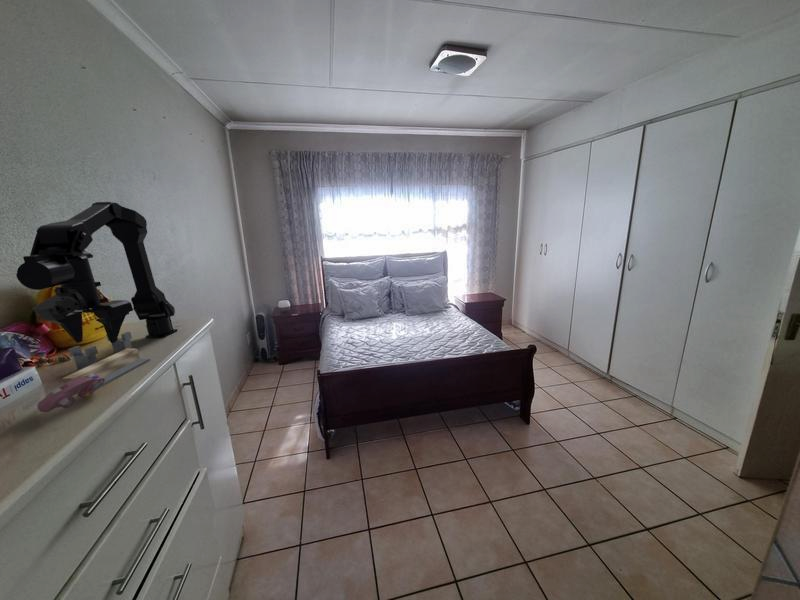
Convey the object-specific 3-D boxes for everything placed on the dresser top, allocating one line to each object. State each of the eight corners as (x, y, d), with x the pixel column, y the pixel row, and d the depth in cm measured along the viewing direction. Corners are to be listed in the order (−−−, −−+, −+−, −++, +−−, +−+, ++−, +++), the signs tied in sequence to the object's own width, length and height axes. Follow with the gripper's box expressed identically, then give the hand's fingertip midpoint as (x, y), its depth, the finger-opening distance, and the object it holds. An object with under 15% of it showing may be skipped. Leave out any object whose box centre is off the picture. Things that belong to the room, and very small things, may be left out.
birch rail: (129, 358, 87) (126, 348, 86) (139, 358, 87) (136, 348, 86) (66, 389, 72) (62, 378, 71) (78, 390, 71) (74, 378, 70)
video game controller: (51, 423, 63) (56, 401, 60) (33, 410, 63) (37, 387, 61) (105, 395, 72) (111, 374, 70) (89, 383, 72) (94, 362, 70)
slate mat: (120, 359, 87) (120, 358, 87) (150, 360, 87) (149, 358, 86) (55, 391, 72) (54, 389, 72) (90, 392, 71) (90, 390, 71)
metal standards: (118, 350, 94) (112, 331, 92) (135, 350, 93) (130, 331, 92) (75, 370, 82) (68, 349, 80) (94, 370, 82) (87, 349, 80)
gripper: (-5, 288, 66) (21, 356, 70) (76, 287, 64) (98, 357, 68) (55, 278, 76) (75, 337, 80) (126, 277, 75) (142, 337, 79)
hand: (96, 342), depth 77 cm, fingers open, 9 cm apart
